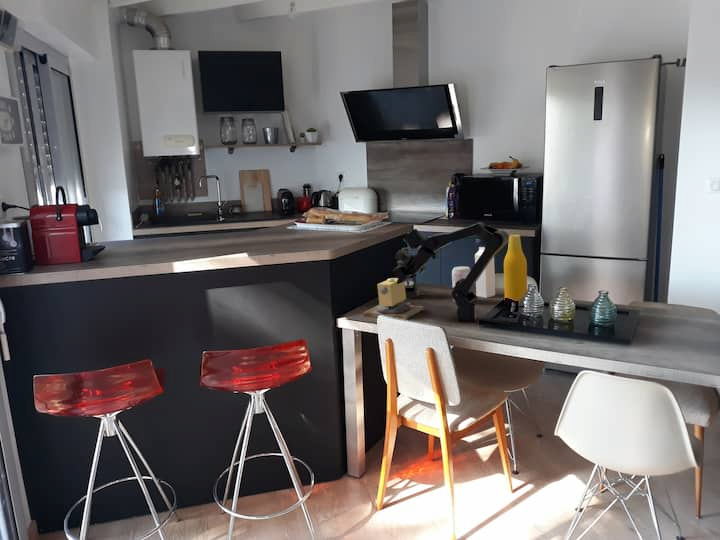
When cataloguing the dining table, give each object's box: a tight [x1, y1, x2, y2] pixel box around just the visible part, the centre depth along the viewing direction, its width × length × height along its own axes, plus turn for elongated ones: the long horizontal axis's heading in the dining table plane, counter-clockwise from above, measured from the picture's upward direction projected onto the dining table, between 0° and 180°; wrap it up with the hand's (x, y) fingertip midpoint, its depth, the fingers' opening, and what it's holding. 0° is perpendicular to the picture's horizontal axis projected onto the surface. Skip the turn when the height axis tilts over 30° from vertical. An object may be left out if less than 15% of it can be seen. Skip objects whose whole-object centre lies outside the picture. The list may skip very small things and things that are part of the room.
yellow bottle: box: [503, 234, 528, 301], centre depth 235 cm, size 9×9×29 cm
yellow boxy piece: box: [376, 277, 407, 306], centre depth 237 cm, size 6×13×10 cm, turn 147°
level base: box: [362, 301, 425, 320], centre depth 239 cm, size 20×16×4 cm
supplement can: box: [451, 265, 471, 302], centre depth 247 cm, size 8×8×15 cm
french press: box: [395, 247, 420, 300], centre depth 262 cm, size 12×9×23 cm
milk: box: [474, 246, 496, 299], centre depth 253 cm, size 6×6×22 cm
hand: (397, 282), depth 235 cm, fingers closed, pressing on yellow boxy piece
